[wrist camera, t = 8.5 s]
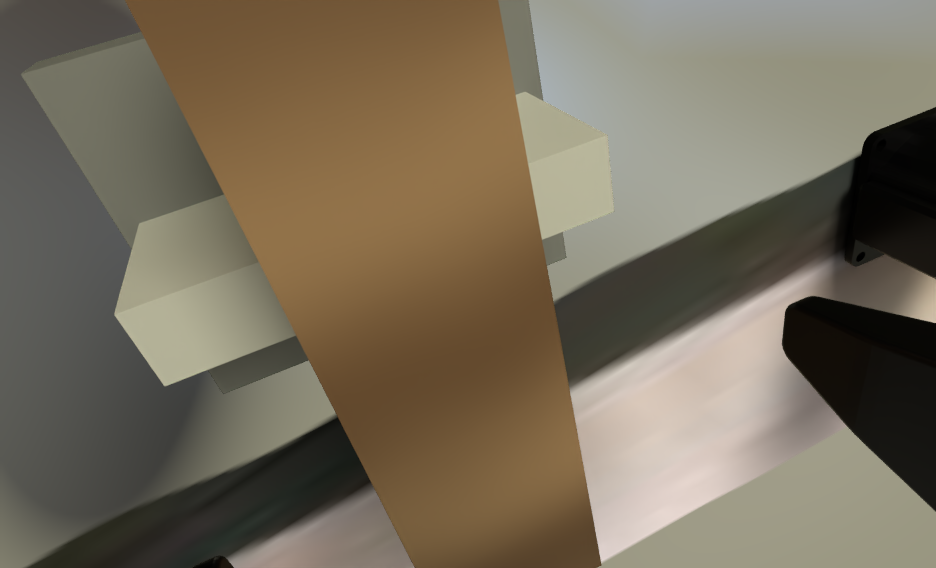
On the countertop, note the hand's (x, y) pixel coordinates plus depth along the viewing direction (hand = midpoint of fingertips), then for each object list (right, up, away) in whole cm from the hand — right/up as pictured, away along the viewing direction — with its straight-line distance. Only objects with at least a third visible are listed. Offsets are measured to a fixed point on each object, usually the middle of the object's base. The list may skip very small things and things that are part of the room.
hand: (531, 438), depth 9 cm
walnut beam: (-3, +3, +4) cm, 6 cm away
